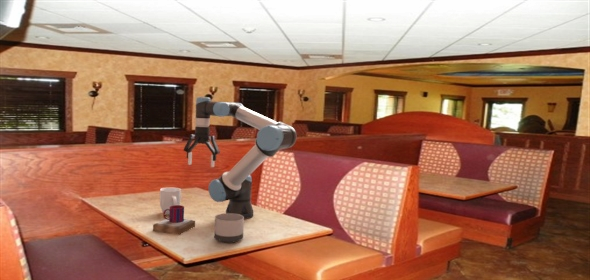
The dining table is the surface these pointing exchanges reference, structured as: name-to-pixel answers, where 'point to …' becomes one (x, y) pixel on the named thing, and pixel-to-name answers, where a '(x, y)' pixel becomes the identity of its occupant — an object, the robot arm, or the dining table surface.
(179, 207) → the cup
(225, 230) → the planter
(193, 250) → the dining table surface
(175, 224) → the stand
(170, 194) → the mug
